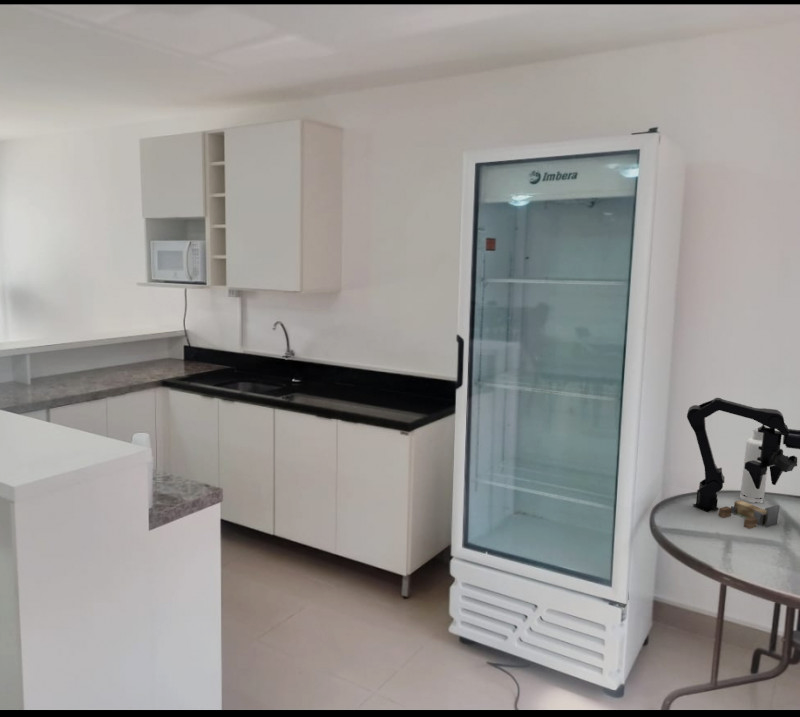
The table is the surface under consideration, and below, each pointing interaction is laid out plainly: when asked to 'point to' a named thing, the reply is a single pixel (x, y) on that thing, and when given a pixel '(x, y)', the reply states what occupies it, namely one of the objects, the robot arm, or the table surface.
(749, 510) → the rail
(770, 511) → the bracket
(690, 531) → the table surface
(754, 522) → the pair of brown blocks
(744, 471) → the bottle
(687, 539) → the table surface
